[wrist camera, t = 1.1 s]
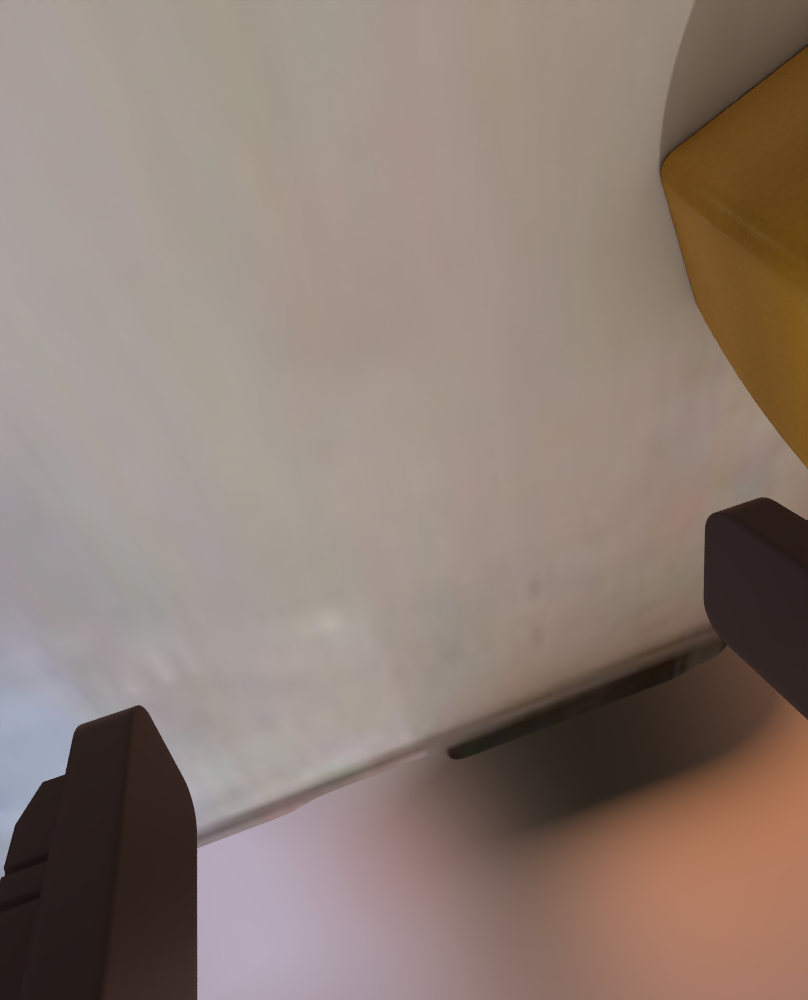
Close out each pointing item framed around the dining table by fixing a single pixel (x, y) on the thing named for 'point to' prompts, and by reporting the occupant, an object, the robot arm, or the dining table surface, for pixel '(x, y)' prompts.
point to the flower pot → (753, 240)
